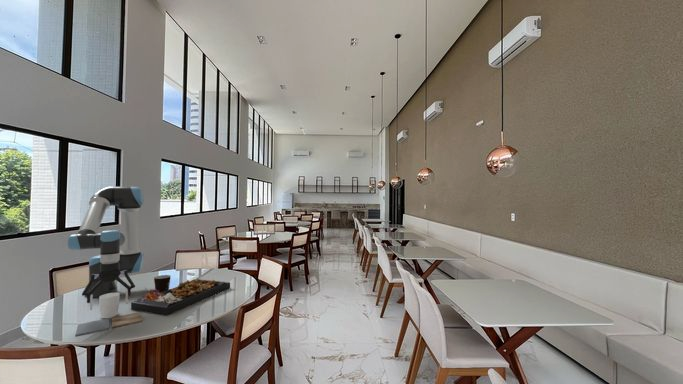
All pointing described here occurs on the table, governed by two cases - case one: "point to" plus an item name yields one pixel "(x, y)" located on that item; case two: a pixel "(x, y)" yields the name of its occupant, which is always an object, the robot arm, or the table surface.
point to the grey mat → (92, 327)
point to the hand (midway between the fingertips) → (109, 306)
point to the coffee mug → (162, 282)
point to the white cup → (109, 305)
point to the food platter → (178, 296)
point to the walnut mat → (126, 319)
